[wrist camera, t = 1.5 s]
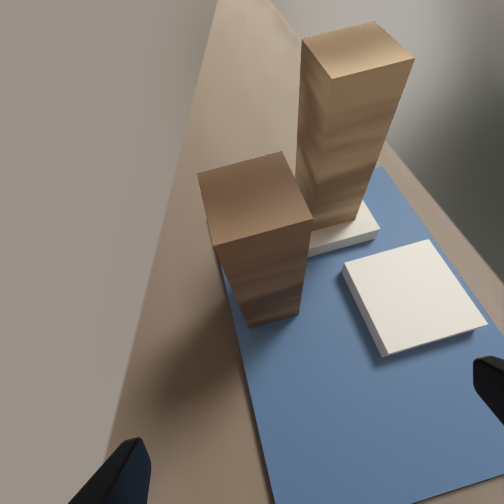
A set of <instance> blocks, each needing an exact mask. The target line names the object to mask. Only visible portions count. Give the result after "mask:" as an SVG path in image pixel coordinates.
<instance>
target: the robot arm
mask: <svg viewBox="0 0 504 504" xmlns="http://www.w3.org/2000/svg"><path fill="white" fill-rule="evenodd" d="M473 386H474V389H475V391H476V392H477V394H478V395H479V396H480V398H481V399H482V400H483V401H484V402H485V404H486V405H487V406H488V407H489V409H490V410H491V411H492V412H493V413H494V415H495V416H496V417H497V418H498V419H499V421H500V422H501V423H502V424H503V426H504V359H501V358H498V357H495V356H484V357H479V358H476V359H474V361H473ZM150 476H151V460H150V457H149V455H148V452H147V450H146V447H145V445H144V442H143V440H142V439H141V438H140V437H137V438H132V439H128V440H125V441H124V442H122V443H121V444H120V446H119V447H118V448H117V449H116V450H115V451H114V452H113V453H112V455H111V456H110V457H109V458H108V459H107V460H106V461H105V462H104V464H103V465H102V466H101V467H100V468H99V469H98V470H97V472H96V473H95V474H94V475H93V476H92V477H91V478H90V479H89V480H88V482H87V483H86V484H85V485H84V486H83V487H82V488H81V489H80V491H79V492H78V493H77V494H76V495H75V496H74V497H73V498H72V500H71V501H70V502H69V503H68V504H147V498H148V491H149V483H150Z"/></svg>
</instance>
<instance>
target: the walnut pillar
mask: <svg viewBox="0 0 504 504" xmlns="http://www.w3.org/2000/svg"><path fill="white" fill-rule="evenodd" d="M197 176H198V180H199V185H200V190H201V194H202V199H203V203H204V208H205V212H206V217H207V221H208V226H209V230H210V235H211V239H212V244H213V247H214V250H215V252H216V254H217V257H218V259H219V261H220V264H221V266H222V268H223V270H224V273H225V275H226V277H227V280H228V282H229V284H230V287H231V289H232V291H233V294H234V296H235V298H236V300H237V303H238V305H239V307H240V310H241V312H242V314H243V317H244V319H245V321H246V324H247V326H248V328H249V329H251V328H254V327H258V326H261V325H265V324H268V323H271V322H275V321H278V320H282V319H285V318H289V317H292V316H296V315H299V310H300V303H301V296H302V290H303V283H304V277H305V270H306V263H307V257H308V250H309V244H310V237H311V231H312V224H313V217H312V215H311V213H310V210H309V208H308V206H307V204H306V202H305V200H304V198H303V195H302V193H301V191H300V189H299V187H298V185H297V183H296V180H295V178H294V176H293V174H292V172H291V170H290V168H289V165H288V163H287V161H286V159H285V157H284V155H283V153H282V151H281V152H277V153H273V154H269V155H266V156H262V157H258V158H254V159H250V160H247V161H243V162H239V163H235V164H231V165H228V166H224V167H220V168H216V169H212V170H209V171H205V172H201V173H197Z"/></svg>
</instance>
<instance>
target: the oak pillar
mask: <svg viewBox="0 0 504 504" xmlns="http://www.w3.org/2000/svg"><path fill="white" fill-rule="evenodd" d="M414 60H415V57H414V56H413V55H412V54H410V53H409V52H408V51H407V50H406V49H405V48H404V47H403V46H402V45H400V44H399V43H398V42H397V41H396V40H395V39H393V37H391V36H390V35H389V34H388V33H387V32H386V31H385V30H384V29H383V28H381V27H380V26H379V25H378V24H377V23H376V22H375V21H373V22H369V23H365V24H361V25H357V26H353V27H349V28H345V29H341V30H336V31H333V32H328V33H324V34H320V35H317V36H312V37H308V38H304V39H302V47H301V68H300V89H299V110H298V131H297V152H296V173H295V180H296V183H297V185H298V187H299V189H300V191H301V193H302V195H303V198H304V200H305V202H306V204H307V206H308V208H309V210H310V213H311V215H312V217H313V224H312V231H315V230H319V229H323V228H326V227H330V226H334V225H337V224H341V223H344V222H348V221H352V220H355V219H356V216H357V213H358V211H359V208H360V205H361V203H362V200H363V197H364V194H365V192H366V189H367V186H368V184H369V181H370V178H371V176H372V173H373V170H374V168H375V165H376V162H377V160H378V157H379V154H380V151H381V149H382V146H383V143H384V141H385V138H386V135H387V132H388V130H389V127H390V125H391V122H392V119H393V117H394V114H395V111H396V108H397V106H398V103H399V100H400V98H401V94H402V92H403V89H404V87H405V84H406V81H407V79H408V76H409V73H410V71H411V68H412V65H413V63H414ZM312 231H311V232H312Z"/></svg>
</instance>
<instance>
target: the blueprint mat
mask: <svg viewBox="0 0 504 504" xmlns="http://www.w3.org/2000/svg"><path fill="white" fill-rule="evenodd" d="M221 268H222V266H221ZM222 272H223V277H224V281H225V286H226V290H227V294H228V299H229V303H230V307H231V312H232V316H233V321H234V325H235V329H236V334H237V338H238V342H239V347H240V351H241V356H242V360H243V364H244V369H245V373H246V378H247V382H248V386H249V391H250V395H251V399H252V404H253V408H254V413H255V417H256V421H257V426H258V430H259V434H260V439H261V443H262V448H263V452H264V456H265V461H266V465H267V470H268V474H269V478H270V483H271V487H272V491H273V496H274V500H275V504H412V503H415V502H418V501H421V500H424V499H427V498H430V497H433V496H437V495H440V494H443V493H446V492H449V491H452V490H455V489H458V488H461V487H465V486H468V485H471V484H474V483H477V482H480V481H483V480H486V479H489V478H493V477H496V476H499V475H502V474H504V426H503V424H502V423H501V422H500V421H499V419H498V418H497V417H496V416H495V415H494V413H493V412H492V411H491V410H490V409H489V407H488V406H487V405H486V404H485V402H484V401H483V400H482V399H481V398H480V396H479V395H478V394H477V392H476V391H475V389H474V386H473V361H474V359H476V358H479V357H484V356H495V357H498V358H501V359H504V336H503V335H502V334H501V332H500V331H499V329H498V328H497V327H496V325H495V324H494V322H493V321H492V320H491V318H490V317H489V315H488V314H487V312H486V311H485V310H484V308H483V307H482V305H481V304H480V303H479V301H478V300H477V298H476V297H475V296H474V294H473V293H472V291H471V290H470V289H469V287H468V286H467V284H466V283H465V282H464V280H463V279H462V277H461V276H460V275H459V273H458V272H457V270H456V269H455V268H454V266H453V265H452V263H451V262H450V261H449V259H448V258H447V256H446V255H445V254H444V252H443V251H442V249H441V248H440V247H439V245H438V244H437V242H436V241H435V240H434V238H433V237H432V235H431V234H430V232H429V231H428V230H427V228H426V227H425V225H424V224H423V223H422V221H421V220H420V218H419V217H418V216H417V214H416V213H415V211H414V210H413V209H412V207H411V206H410V204H409V203H408V202H407V200H406V199H405V197H404V196H403V195H402V193H401V192H400V190H399V189H398V188H397V186H396V185H395V183H394V182H393V181H392V179H391V178H390V176H389V175H388V174H387V172H386V171H385V169H384V168H383V167H380V168H376V169H374V170H373V173H372V176H371V178H370V181H369V184H368V186H367V189H366V192H365V194H364V197H363V200H362V203H361V205H360V208H359V211H358V213H357V216H356V219H355V220H352V221H348V222H344V223H341V224H337V225H334V226H330V227H326V228H323V229H319V230H315V231H312V232H311V237H310V244H309V250H308V257H307V263H306V270H305V277H304V283H303V290H302V296H301V303H300V310H299V315H296V316H292V317H289V318H285V319H282V320H278V321H275V322H271V323H268V324H265V325H261V326H258V327H254V328H251V329H249V328H248V326H247V324H246V321H245V319H244V317H243V314H242V312H241V310H240V307H239V305H238V303H237V300H236V298H235V296H234V294H233V291H232V289H231V287H230V284H229V282H228V280H227V277H226V275H225V273H224V270H223V268H222Z"/></svg>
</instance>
